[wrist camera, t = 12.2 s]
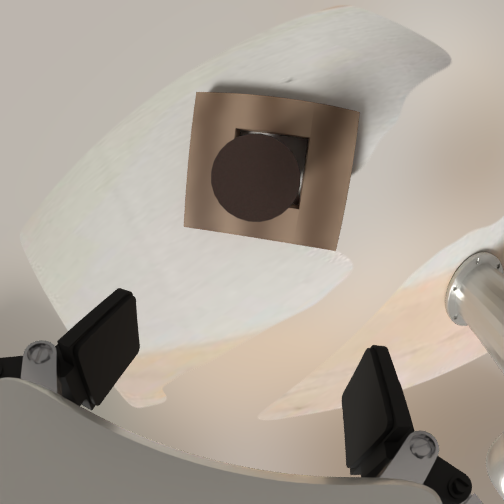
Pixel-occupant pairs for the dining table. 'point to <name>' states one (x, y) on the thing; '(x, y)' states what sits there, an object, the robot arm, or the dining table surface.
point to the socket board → (315, 170)
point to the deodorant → (255, 177)
